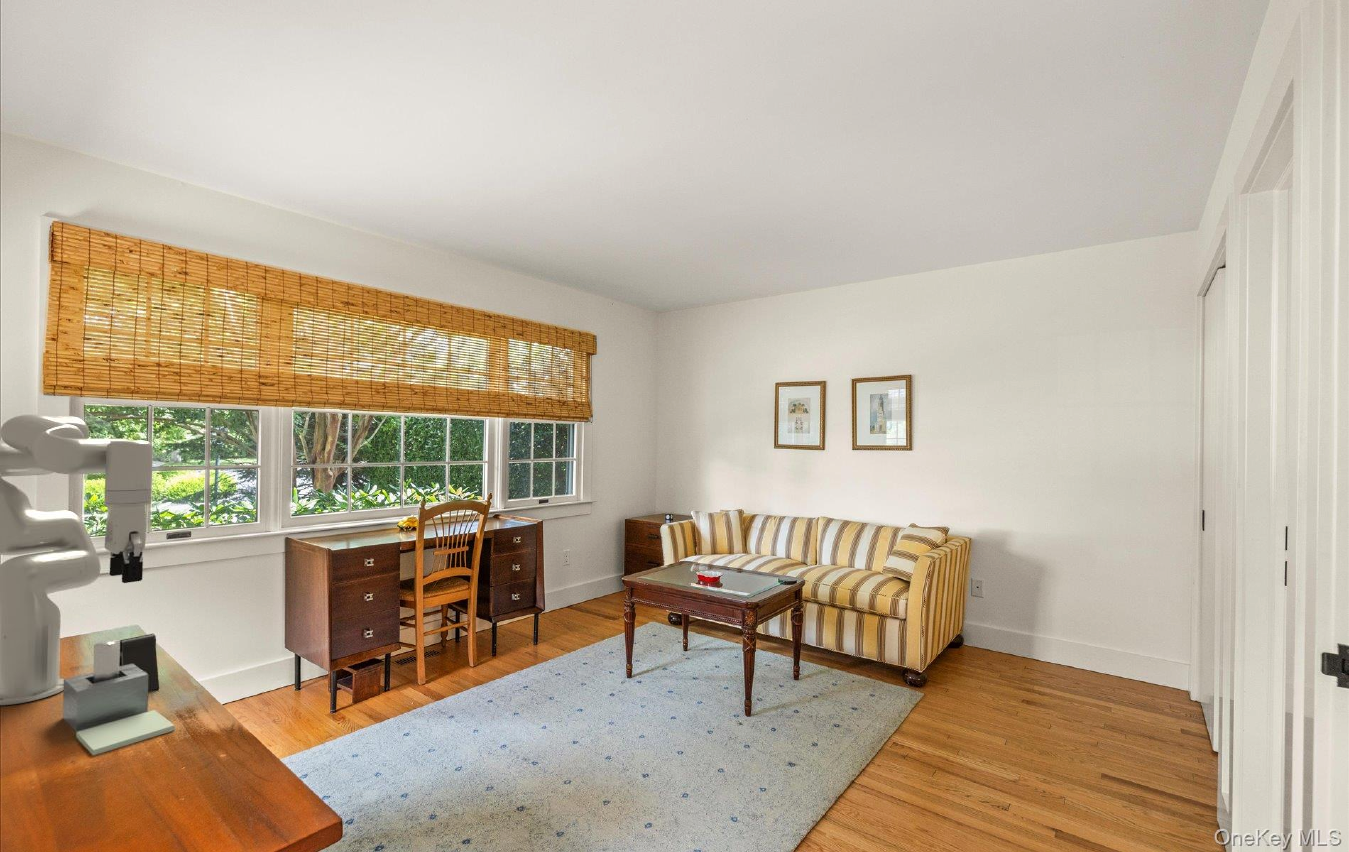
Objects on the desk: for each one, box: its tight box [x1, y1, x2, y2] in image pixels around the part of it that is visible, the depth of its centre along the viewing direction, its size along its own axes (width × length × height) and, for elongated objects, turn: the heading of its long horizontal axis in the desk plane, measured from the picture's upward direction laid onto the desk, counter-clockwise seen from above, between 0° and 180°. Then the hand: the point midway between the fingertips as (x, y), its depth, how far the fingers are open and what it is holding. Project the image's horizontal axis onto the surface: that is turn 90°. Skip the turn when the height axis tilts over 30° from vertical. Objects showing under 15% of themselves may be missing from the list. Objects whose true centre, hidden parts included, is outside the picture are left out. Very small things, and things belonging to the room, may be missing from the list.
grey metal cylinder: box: [93, 639, 120, 684], centre depth 129 cm, size 4×4×12 cm
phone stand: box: [119, 633, 160, 693], centre depth 143 cm, size 9×6×12 cm, turn 54°
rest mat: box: [75, 709, 176, 756], centre depth 121 cm, size 12×12×1 cm
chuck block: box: [62, 664, 149, 733], centre depth 129 cm, size 11×11×8 cm
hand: (125, 578), depth 131 cm, fingers open, 9 cm apart
